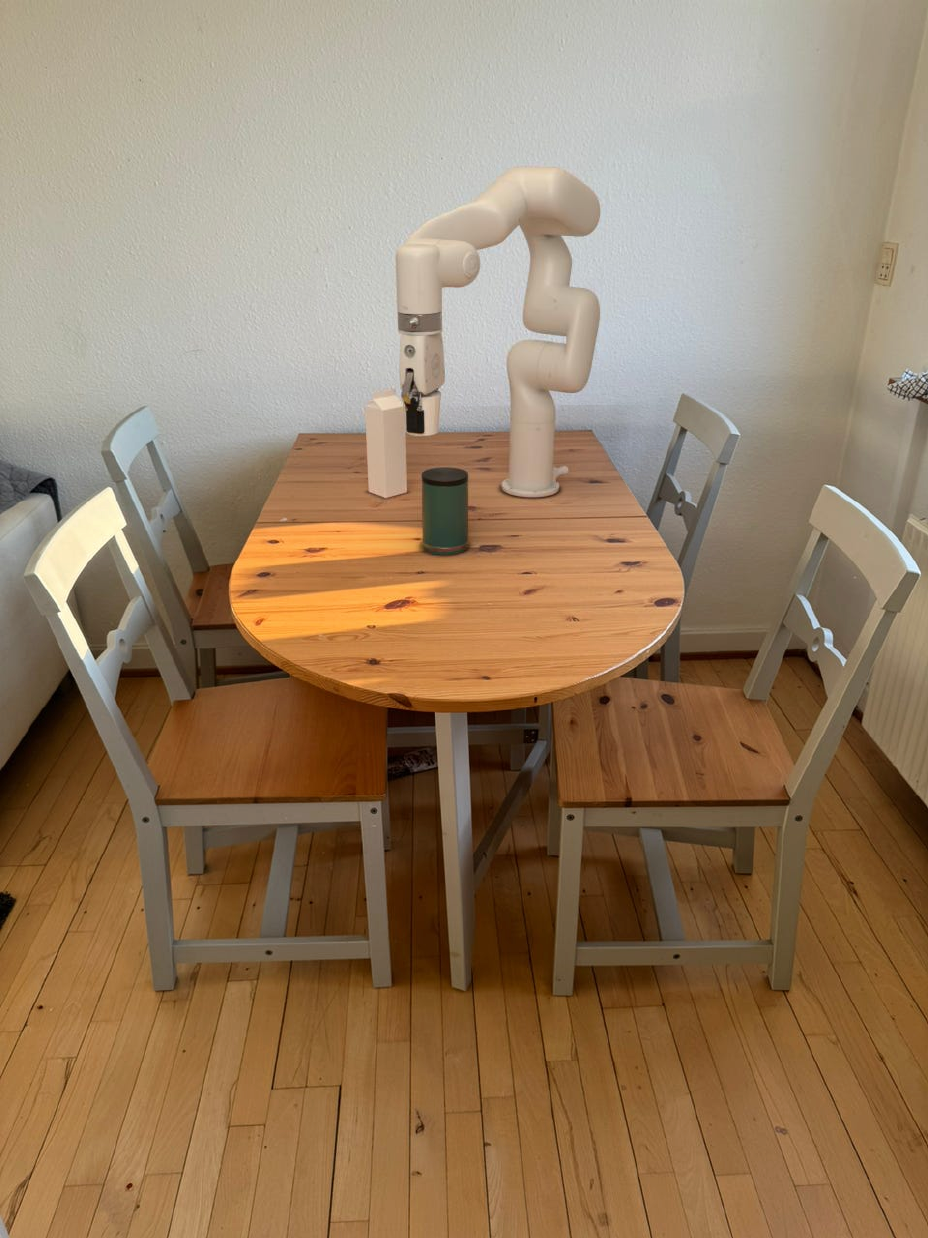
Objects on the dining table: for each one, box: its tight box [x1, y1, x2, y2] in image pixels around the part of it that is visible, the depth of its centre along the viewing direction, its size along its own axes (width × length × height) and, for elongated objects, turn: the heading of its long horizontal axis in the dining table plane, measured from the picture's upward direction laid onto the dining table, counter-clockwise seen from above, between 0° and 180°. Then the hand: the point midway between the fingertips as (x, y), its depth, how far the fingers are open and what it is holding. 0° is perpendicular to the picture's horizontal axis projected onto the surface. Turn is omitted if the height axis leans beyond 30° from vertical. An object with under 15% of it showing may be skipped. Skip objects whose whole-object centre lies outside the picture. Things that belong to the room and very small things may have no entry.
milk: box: [364, 387, 408, 499], centre depth 199 cm, size 6×6×22 cm
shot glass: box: [401, 389, 442, 437], centre depth 166 cm, size 7×7×7 cm
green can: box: [421, 466, 469, 556], centre depth 173 cm, size 8×8×14 cm
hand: (422, 427), depth 167 cm, fingers closed on shot glass, 5 cm apart
